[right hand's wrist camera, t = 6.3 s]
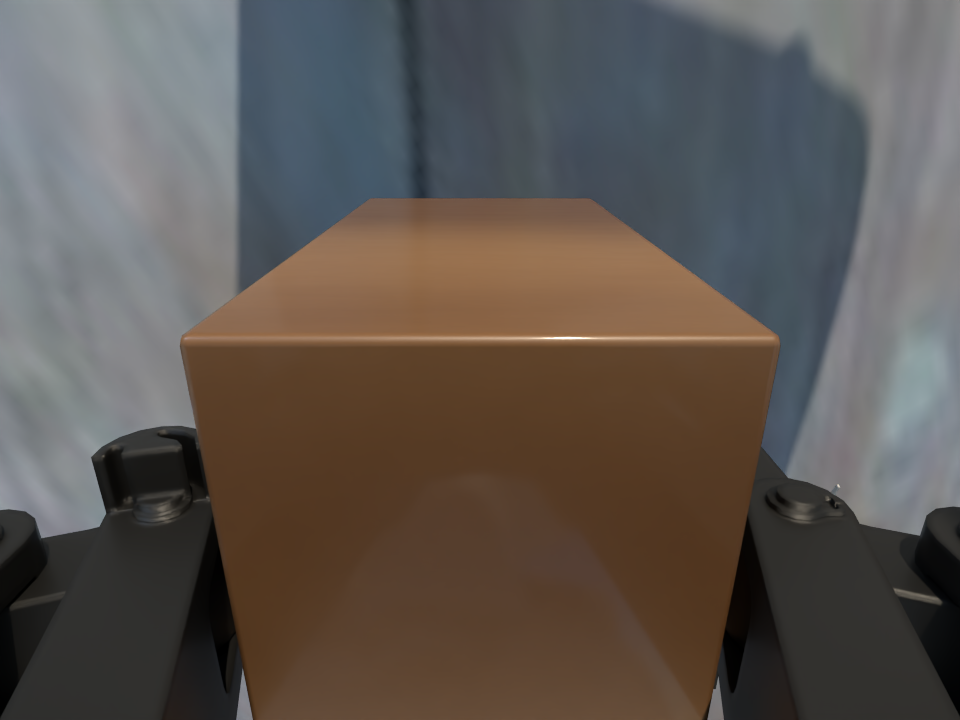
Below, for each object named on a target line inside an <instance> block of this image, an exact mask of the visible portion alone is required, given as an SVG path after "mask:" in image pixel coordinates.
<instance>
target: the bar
mask: <svg viewBox="0 0 960 720" xmlns="http://www.w3.org/2000/svg"><path fill="white" fill-rule="evenodd" d="M180 349H181V354H182V359H183V364H184V369H185V374H186V380H187V385H188V390H189V395H190V400H191V405H192V410H193V415H194V420H195V425H196V431H197V436H198V441H199V446H200V451H201V456H202V461H203V466H204V471H205V477H206V482H207V487H208V492H209V497H210V502H211V507H212V512H213V517H214V523H215V528H216V533H217V538H218V543H219V548H220V553H221V558H222V563H223V569H224V574H225V579H226V584H227V589H228V594H229V599H230V604H231V609H232V615H233V620H234V625H235V630H236V635H237V640H238V645H239V650H240V655H241V661H242V666H243V671H244V676H245V681H246V686H247V691H248V696H249V701H250V707H251V712H252V717H253V720H707V718H708V713H709V708H710V703H711V698H712V693H713V688H714V683H715V678H716V672H717V667H718V662H719V657H720V652H721V647H722V642H723V637H724V632H725V627H726V621H727V616H728V611H729V606H730V601H731V596H732V591H733V586H734V581H735V576H736V570H737V565H738V560H739V555H740V550H741V545H742V540H743V535H744V530H745V525H746V519H747V514H748V509H749V504H750V499H751V494H752V489H753V484H754V479H755V474H756V468H757V463H758V458H759V453H760V448H761V443H762V438H763V433H764V428H765V423H766V417H767V412H768V407H769V402H770V397H771V392H772V387H773V382H774V377H775V372H776V366H777V361H778V356H779V351H780V339H779V337H778V335H777V334H775V333H774V332H773V331H771V330H770V329H769V328H767V327H766V326H764V325H763V324H762V323H760V322H759V321H758V320H756V319H755V318H753V317H752V316H751V315H749V314H748V313H747V312H745V311H744V310H742V309H741V308H740V307H738V306H737V305H736V304H734V303H733V302H732V301H730V300H729V299H727V298H726V297H725V296H723V295H722V294H721V293H719V292H718V291H716V290H715V289H714V288H712V287H711V286H710V285H708V284H707V283H706V282H704V281H703V280H701V279H700V278H699V277H697V276H696V275H695V274H693V273H692V272H690V271H689V270H688V269H686V268H685V267H684V266H682V265H681V264H680V263H678V262H677V261H675V260H674V259H673V258H671V257H670V256H669V255H667V254H666V253H664V252H663V251H662V250H660V249H659V248H658V247H656V246H655V245H654V244H652V243H651V242H649V241H648V240H647V239H645V238H644V237H643V236H641V235H640V234H638V233H637V232H636V231H634V230H633V229H632V228H630V227H629V226H628V225H626V224H625V223H623V222H622V221H621V220H619V219H618V218H617V217H615V216H614V215H612V214H611V213H610V212H608V211H607V210H606V209H604V208H603V207H602V206H600V205H599V204H597V203H596V202H595V201H593V200H592V199H589V198H371V199H369V200H367V201H366V202H365V203H363V204H362V205H360V206H359V207H358V208H356V209H355V210H354V211H352V212H351V213H349V214H348V215H347V216H345V217H344V218H343V219H341V220H340V221H338V222H337V223H336V224H334V225H333V226H332V227H330V228H329V229H328V230H326V231H325V232H323V233H322V234H321V235H319V236H318V237H317V238H315V239H314V240H312V241H311V242H310V243H308V244H307V245H306V246H304V247H303V248H301V249H300V250H299V251H297V252H296V253H295V254H293V255H292V256H290V257H289V258H288V259H286V260H285V261H284V262H282V263H281V264H280V265H278V266H277V267H275V268H274V269H273V270H271V271H270V272H269V273H267V274H266V275H264V276H263V277H262V278H260V279H259V280H258V281H256V282H255V283H253V284H252V285H251V286H249V287H248V288H247V289H245V290H244V291H242V292H241V293H240V294H238V295H237V296H236V297H234V298H233V299H232V300H230V301H229V302H227V303H226V304H225V305H223V306H222V307H221V308H219V309H218V310H216V311H215V312H214V313H212V314H211V315H210V316H208V317H207V318H205V319H204V320H203V321H201V322H200V323H199V324H197V325H196V326H194V327H193V328H192V329H190V330H189V331H188V332H186V333H185V334H184V335H182V338H181V342H180Z"/></svg>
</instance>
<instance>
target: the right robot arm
mask: <svg viewBox="0 0 960 720" xmlns="http://www.w3.org/2000/svg"><path fill="white" fill-rule="evenodd" d="M91 459H92V462H93V466H94V470H95V473H96V477H97V481H98V484H99V488H100V492H101V495H102V499H103V502H104V506H105V510H106V515H105V517H104V519H103V521H102V523H101V525H100V527H97V528H93V529H89V530H84V531H78V532H73V533H68V534H63V535H57V536H52V537H47V538H41V536H40V533H39V530H38V527H37V524H36V521H35V518H34V517H32V516H31V515H30V514H28V513H27V512H25V511H17V510H9V509H8V510H0V720H236V716H237V708H238V700H239V693H240V685H241V677H242V669H243V666H242V661H241V655H240V650H239V645H238V640H237V635H236V630H235V625H234V620H233V615H232V609H231V604H230V599H229V594H228V589H227V584H226V579H225V574H224V569H223V563H222V558H221V553H220V548H219V543H218V538H217V533H216V528H215V523H214V517H213V512H212V507H211V502H210V497H209V492H208V487H207V482H206V477H205V471H204V466H203V461H202V456H201V451H200V446H199V441H198V436H197V431H196V429H194V428H189V427H183V426H163V427H156V428H151V429H145V430H140V431H137V432H134V433H131V434H128V435H125V436H122V437H119V438H118V439H116V440H114V441H112V442H110V443H108V444H106V445H105V446H103V447H101V448H100V449H99V450H98V451H97V452H96V453H95V454H94V455H93V456H92V457H91ZM718 676H719V683H720V691H721V699H722V707H723V715H724V720H960V507H946V508H938V509H935V510H934V511H932V512H931V513H929V514H928V515H927V516H926V519H925V522H924V525H923V528H922V531H921V535H920V536H918V535H913V534H907V533H902V532H897V531H891V530H886V529H881V528H875V527H870V526H866V525H862V524H859V522H858V520H857V518H856V516H855V514H854V512H853V511H852V510H851V509H850V508H849V507H848V505H847V504H846V503H845V502H844V501H843V500H841V499H840V498H838V497H837V496H835V495H834V494H832V493H831V492H829V491H828V490H825V489H823V488H820V487H818V486H815V485H813V484H810V483H808V482H803V481H798V480H794V479H789V478H787V476H786V475H785V474H784V473H783V472H782V471H781V469H780V468H779V467H778V466H777V465H776V463H775V462H774V461H773V460H772V459H771V458H770V456H769V455H768V454H767V453H766V452H765V451H764V449H763V448H762V447H761V448H760V453H759V458H758V463H757V468H756V474H755V479H754V484H753V489H752V494H751V499H750V504H749V509H748V514H747V519H746V525H745V530H744V535H743V540H742V545H741V550H740V555H739V560H738V565H737V570H736V576H735V581H734V586H733V591H732V596H731V601H730V606H729V611H728V616H727V621H726V627H725V632H724V637H723V642H722V647H721V652H720V657H719V662H718V667H717V672H716V678H715V683H714V688H713V689H716V685H717V680H718Z"/></svg>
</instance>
